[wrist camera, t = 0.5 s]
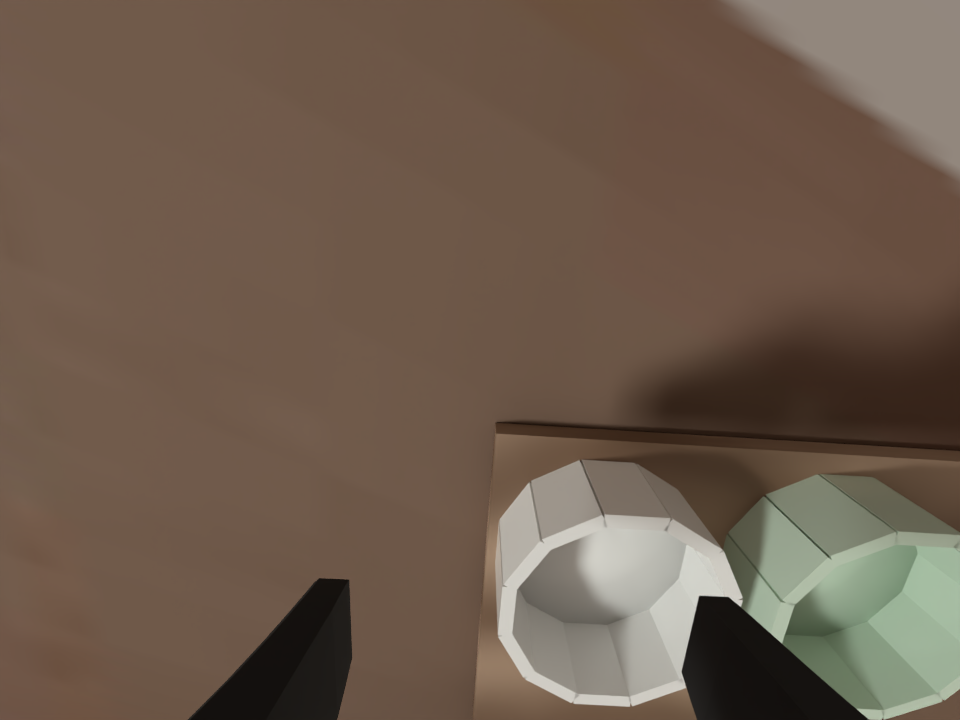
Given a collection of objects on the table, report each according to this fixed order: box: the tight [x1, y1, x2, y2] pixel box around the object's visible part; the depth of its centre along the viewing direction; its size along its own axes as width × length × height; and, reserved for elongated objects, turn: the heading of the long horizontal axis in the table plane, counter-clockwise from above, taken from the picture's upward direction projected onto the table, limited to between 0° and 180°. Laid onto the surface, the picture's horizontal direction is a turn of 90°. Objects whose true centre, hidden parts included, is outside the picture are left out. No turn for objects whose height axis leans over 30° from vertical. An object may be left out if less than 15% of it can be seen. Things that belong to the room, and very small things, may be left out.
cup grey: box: [495, 460, 743, 707], centre depth 17 cm, size 8×8×4 cm
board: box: [472, 423, 960, 720], centre depth 20 cm, size 18×20×1 cm
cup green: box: [723, 474, 960, 720], centre depth 17 cm, size 8×8×4 cm
